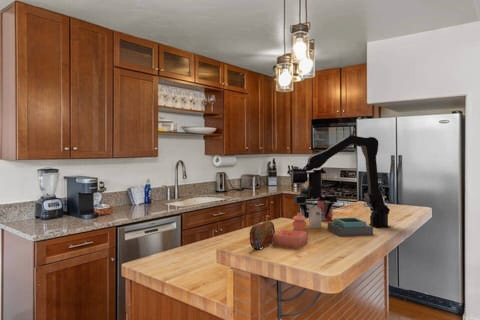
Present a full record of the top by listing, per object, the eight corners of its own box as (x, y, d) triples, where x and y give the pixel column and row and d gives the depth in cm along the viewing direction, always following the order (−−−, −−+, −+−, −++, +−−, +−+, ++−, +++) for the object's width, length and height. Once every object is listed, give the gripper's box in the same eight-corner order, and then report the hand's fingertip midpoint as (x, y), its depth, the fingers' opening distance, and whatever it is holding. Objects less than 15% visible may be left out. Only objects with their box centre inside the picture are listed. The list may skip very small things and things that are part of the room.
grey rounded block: (318, 224, 153) (318, 207, 152) (324, 228, 145) (324, 210, 145) (307, 225, 152) (307, 207, 152) (312, 228, 145) (312, 210, 144)
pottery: (298, 249, 114) (297, 221, 114) (272, 246, 119) (272, 218, 119) (314, 237, 130) (314, 212, 130) (291, 235, 135) (291, 211, 134)
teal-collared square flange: (358, 228, 145) (358, 216, 145) (373, 234, 133) (373, 222, 133) (327, 229, 143) (327, 218, 143) (339, 236, 131) (339, 223, 131)
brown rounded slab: (256, 252, 112) (255, 227, 111) (247, 250, 113) (247, 226, 113) (275, 241, 124) (275, 219, 124) (268, 240, 126) (268, 218, 126)
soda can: (331, 218, 167) (331, 194, 167) (333, 221, 160) (333, 196, 160) (316, 218, 168) (316, 194, 167) (318, 221, 160) (318, 196, 160)
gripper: (327, 181, 158) (327, 214, 159) (289, 182, 156) (289, 215, 156) (337, 183, 147) (337, 218, 148) (297, 184, 145) (297, 220, 145)
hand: (315, 218), depth 149 cm, fingers open, 9 cm apart
